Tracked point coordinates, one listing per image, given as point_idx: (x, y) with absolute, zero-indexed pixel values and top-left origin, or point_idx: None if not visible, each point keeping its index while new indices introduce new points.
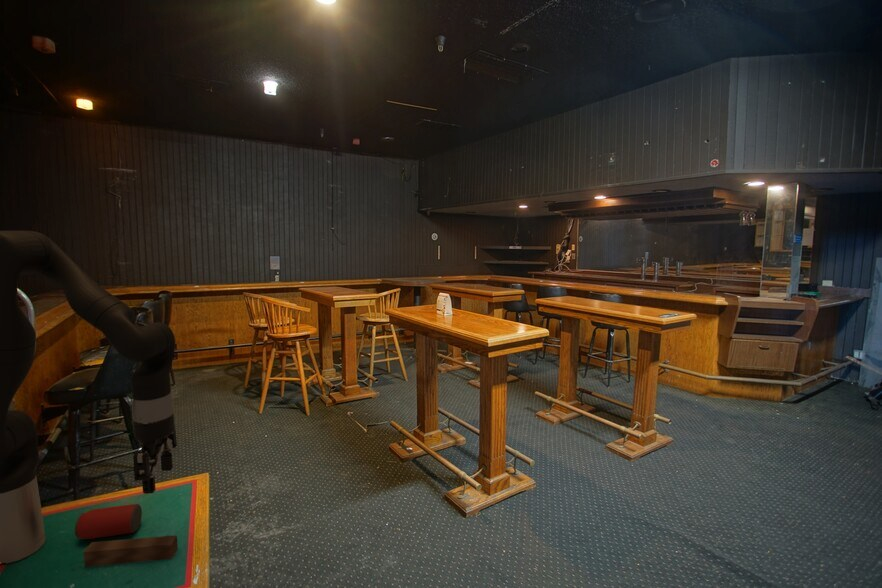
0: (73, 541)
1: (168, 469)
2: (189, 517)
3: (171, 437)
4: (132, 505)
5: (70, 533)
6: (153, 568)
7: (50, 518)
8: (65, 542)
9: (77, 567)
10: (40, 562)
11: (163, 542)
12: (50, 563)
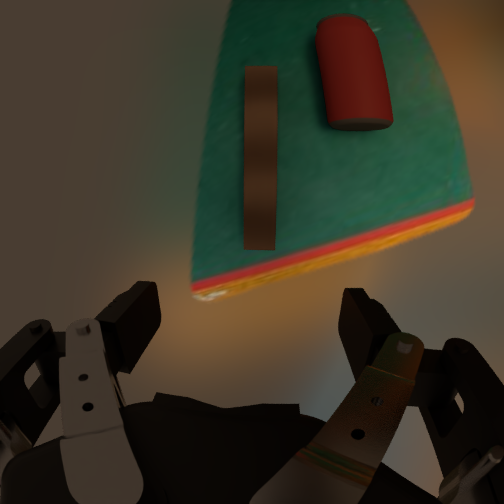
0: None
1: (341, 318)
2: (373, 228)
3: (446, 454)
4: (377, 111)
5: None
6: (224, 213)
7: None
8: None
9: None
10: (271, 6)
11: (253, 229)
12: (266, 20)
